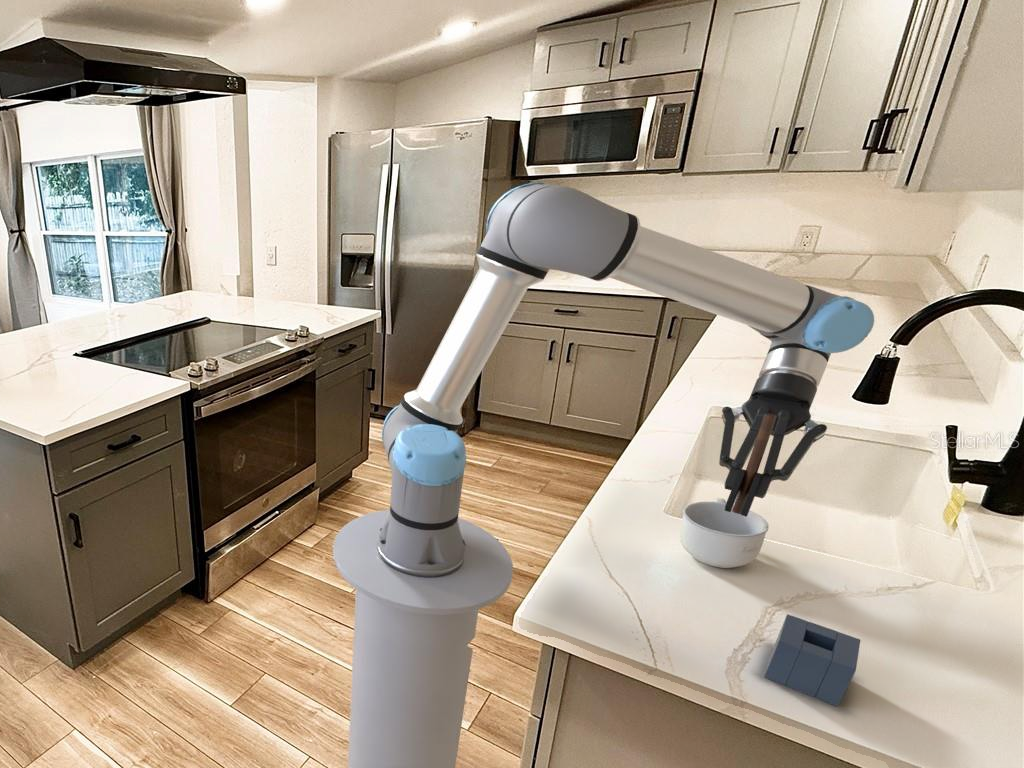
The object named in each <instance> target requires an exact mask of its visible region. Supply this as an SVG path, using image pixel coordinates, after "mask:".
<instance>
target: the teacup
mask: <svg viewBox="0 0 1024 768" xmlns="http://www.w3.org/2000/svg"><path fill="white" fill-rule="evenodd" d="M726 502H727V500H726V499H724V498H721V497H716V498H713V499H712V501H698V502H692V503H690V504H688V505H686V506H685V507H684V509H683V511H682V514H683V516H682V520H681V526H680V532H679V539H680V543H681V546H682V548H684V550H685V551H686V552H687V553H688V554H690V555H691V557H693V558H694V560H695V559H696V561H698V562H701V563H702V564H705V565H708V566H710V567H715V568H721V569H733V568H737V567H742V566H747V565H749V564H751V563H753V562H754V560H756V559H757V557H758V556H759V554H760V552H761V550H762V547H763V544H764V541H765V537H766V534H767V532H768V531H769V524H768V522H767V520H766V519H765V518H764V517H763V516H762V515H760V514H759V513H756V512H754V511H753V510H751V509H750V510H749V513H748V515H747V517H746V516H742V515H741V514H737V513H734V512H733V511H732V510H731V512H728V511H725V505H726ZM733 506H734V505H733ZM732 509H733V507H732Z"/></svg>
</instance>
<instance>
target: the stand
mask: <svg viewBox="0 0 1024 768" xmlns="http://www.w3.org/2000/svg"><path fill="white" fill-rule="evenodd" d="M860 645H861V639H860V638H857V637H855V636H851V635H849V634H846V633H844V632H840V631H837V630H834V629H832V628H829V627H826V626H823V625H820V624H818V623H814V622H812V621H808V620H806V619H803V618H800V617H796V616H795V615H791V614H788V613H787V614H786V616H785V619H784V621H783V623H782V625H781V628H780V630H779V632H778V636H777V638H776V640H775V642H774V645H773V648H772V650H771V653H770V657H769V660H768V663H767V667H766V669H765V673H764V678H766V679H768V680H771V681H773V682H775V683H778V684H780V685H782V686H786V687H788V688H790V689H793V690H796V691H798V692H800V693H802V694H805V695H807V696H810V697H812V698H815V699H818V700H819V701H822V702H825V703H827V704H829V705H831V706H835V707H837V708H838V707H839V706H840V703H841V702H842V700H843V698H844V696H845V694H846V692H847V689H848V687H849V685H850V684H851V681H852V680H853V678H854V675H855V673H856V671H857V667H858V666H857V665H858V659H859V652H860Z"/></svg>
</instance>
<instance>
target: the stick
mask: <svg viewBox="0 0 1024 768" xmlns="http://www.w3.org/2000/svg"><path fill="white" fill-rule="evenodd" d="M776 417H777V415H775V414H771V413H766V414H765V415H764V418H763V421H762V424H761V427H760V430H759V433H758V436H757V439H756V442H755V445H754V446H753V448H752V450H751V452H750V455H749V456H750V457H749V459H748V463H747V465H746V469H745V470H746V472H745V475H744V478H743V481H742V484H741V487H740V490H739V492H738V495H737V497H736V500H735V502H734V506H733V509H732V511H733V512H734V513H737V514H741V512H742V508H743V506H744V503H745V501H746V498H747V496H748V493H749V490H750V488H751V485H752V483H753V480H754V478H755V475H756V473H759V469H760V466H761V463H762V460H763V458H764V454H765V452H766V448H767V446H768V443H769V440H770V437H771V435H770V434H771V432H772V429H773V426H774V423H775V420H776Z"/></svg>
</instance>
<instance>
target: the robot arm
mask: <svg viewBox="0 0 1024 768" xmlns="http://www.w3.org/2000/svg"><path fill="white" fill-rule="evenodd" d="M485 227H486V228H485V229H486V234H485V236H484V238H483V240H482V242H481V244H480V246H479V247H478V250H477V252H476V254H475V256H476V258H477V260H476V261H477V263H478V270H477V272H476V274H475V275H474V278H473V279H472V282H471V284H470V285H469V287H468V289H467V292H466V293H465V295H464V297H463V299H462V301H461V303H460V304H459V307H458V308H457V310H456V312H455V315H454V316H453V318H452V320H451V323H450V324H449V326H448V328H447V330H446V331H445V334H444V336H443V337H442V339H441V341H440V343H439V345H438V347H437V349H436V351H435V353H434V355H433V357H432V359H431V361H430V363H429V364H428V367H427V368H426V370H425V372H424V374H423V376H422V378H421V380H420V381H419V384H418V386H417V387H416V389H414V390H411V391H407V392H405V394H404V395H403V397H402V399H401V401H400V403H399V405H396V406H395V407H394V408H392V409H391V410H390V411H389V412H388V414H387V415H386V417H385V419H384V421H383V424H382V430H381V440H382V445H383V448H384V451H385V454H386V459H387V461H388V465H389V470H390V473H391V486H390V487H391V488H390V502H389V504H390V507H389V509H390V513H389V515H388V517H387V520H386V522H385V524H384V526H383V528H381V529H380V531H381V532H380V534H379V538H378V544H377V551H378V554H379V556H380V558H381V559H382V561H383V562H384V563H386V564H387V565H388V566H390V567H391V568H393V569H395V570H397V571H399V572H401V573H404V574H407V575H411V576H416V577H424V578H435V577H442V576H446V575H449V574H452V573H454V572H456V571H457V570H458V569H460V567H461V566H462V565H463V562H464V556H465V549H464V545H465V542H464V540H463V539H462V536H461V532H460V528H459V524H458V518H459V512H460V505H461V498H462V490H463V481H464V476H465V475H464V473H465V468H466V465H467V454H466V452H467V449H466V444H465V442H464V440H463V438H462V437H461V436H460V434H458V433H457V432H458V431H459V429H460V427H461V425H462V424H463V422H464V418H463V416H462V412H461V408H462V406H463V404H464V402H465V400H466V399H467V397H468V396H469V394H470V392H471V390H472V389H473V387H474V385H475V383H476V382H477V379H478V377H479V376H480V374H481V372H482V370H483V369H484V367H485V365H486V363H487V362H488V360H489V358H490V356H491V355H492V353H493V351H494V349H495V348H496V346H497V344H498V342H499V340H500V339H501V337H502V336H503V333H504V331H505V329H506V328H507V326H508V324H509V322H510V320H511V319H512V317H513V315H514V313H515V312H516V310H517V308H518V306H519V305H520V303H521V301H522V300H523V297H524V296H525V294H526V292H527V290H528V289H529V288H530V287H531V286H534V285H536V284H539V283H541V282H544V280H545V278H546V277H547V274H548V273H549V271H550V270H553V271H557V272H558V271H559V272H564V273H569V274H572V275H577V276H580V277H584V278H587V279H590V280H593V281H596V282H602V281H605V280H607V279H613V280H616V281H618V282H622V283H624V284H628V285H630V286H633V287H635V288H639V289H641V290H645V291H647V292H651V293H653V294H657V295H659V296H662V297H665V298H666V299H667V298H668V299H671V300H673V301H676V302H679V303H681V304H684V305H685V304H686V305H688V306H691V307H694V308H697V309H699V310H702V311H705V312H708V313H711V314H714V315H716V316H719V317H722V318H725V319H728V320H732V321H734V322H737V323H739V324H743V325H745V326H747V327H749V328H751V329H752V330H754V331H755V332H757V333H759V334H760V336H762V337H765V338H766V339H768V340H769V341H770V342H771V343H770V346H769V349H768V351H767V354H766V355H765V359H764V361H763V363H762V365H761V368H760V371H759V374H758V378H757V379H756V380H755V383H754V385H753V388H752V391H751V394H750V395H749V398H748V399H747V400H746V401H745V402H744V403H743V404H742V405H741V406H737V407H733V408H731V407H730V406H724V407H723V408H722V410H721V419H722V422H723V424H724V427H723V434H722V440H721V447H720V452H719V460H718V465H719V466H720V467H723V468H726V469H727V470H728V474H727V476H726V479H725V481H724V489H725V490H728V491H730V492H729V495H728V498H727V500H726V505H725V511H728V512H731V510H732V507H733V505H734V503H735V501H736V498H737V495H738V492H739V490H740V487H741V484H742V481H743V478H744V475H745V472H746V469H744V466H745V464H746V462H747V460H748V458H749V456H750V455H751V453H752V450H753V447H754V445H755V442H756V439H757V436H758V433H759V430H760V427H761V424H762V421H763V418H764V415H765V414H766V413H771V414H775V415H777V417H776V420H775V423H774V426H773V429H772V432H771V434H770V436H772V441H771V444H770V447H769V451H768V455H767V458H766V462H765V465H764V468H763V472H762V473H760V472H757V473H756V475H755V478H754V480H753V483H752V485H751V488H750V490H749V493H748V496H747V498H746V501H745V503H744V506H743V508H742V512H741V515H742V516H746V517H747V515H748V513H749V510H750V511H751V507H752V505H753V503H754V500H755V498H759V499H764V498H765V497H766V496H767V493H768V490H769V488H770V485H771V483H772V482H773V481H780V482H786V481H788V480H789V478H790V477H791V476H792V475H793V473H794V472H795V470H796V469H797V467H798V466H799V465H800V463H801V461H802V460H803V458H804V457H805V455H806V454H807V453H808V451H809V450H810V448H811V447H812V445H814V443H816V442H817V441H819V440H820V439H822V438H823V437H825V435H826V432H827V429H828V426H827V425H826V424H825V423H817V422H816V421H814V420H812V415H811V412H810V410H811V407H812V404H813V402H814V400H815V398H816V394H817V392H818V387H819V386H820V384H821V381H822V379H823V376H824V373H825V371H826V369H827V366H828V362H829V360H830V357H831V355H832V354H838V353H843V352H847V351H849V350H851V349H854V348H855V347H858V346H859V345H860V344H862V343H863V342H864V341H865V339H866V338H867V337H868V336H869V334H870V333H871V332H872V330H873V327H874V325H875V315H874V312H873V310H872V308H871V307H870V306H869V305H868V304H866V303H864V302H863V301H860V300H856V299H854V298H853V297H850V296H846V295H843V296H842V295H839V294H835V293H832V292H829V291H826V290H823V289H820V288H817V287H815V286H812V285H808V284H806V283H804V282H800V281H797V280H795V279H792V278H789V277H787V276H784V275H781V274H779V273H775V272H772V271H769V270H766V269H763V268H761V267H758V266H755V265H753V264H751V263H750V264H749V263H746V262H744V261H741V260H738V259H735V258H733V257H729V256H728V255H727V256H726V255H724V254H722V253H718V252H715V251H713V250H710V249H707V248H704V247H701V246H698V245H695V244H693V243H690V242H687V241H684V240H681V239H679V238H675V237H673V236H670V235H668V234H664V233H662V232H658V231H656V230H653V229H651V228H648V227H644V226H641V222H640V218H639V216H637V215H636V214H635V215H634V214H633V213H629V212H627V211H625V210H621V209H619V208H616V207H614V206H612V205H610V204H608V203H605V202H604V201H601V200H599V199H598V198H595V197H594V196H591V194H588V193H586V192H584V191H581V190H579V189H577V188H575V187H571V186H567V185H556V184H551V183H550V184H549V183H544V182H530V183H525V184H522V185H519V186H516V187H514V188H511V189H510V190H508V191H506V192H505V193H503V195H501V197H499V198H498V199H497V201H495V203H494V204H493V205H492V207H491V209H490V211H489V213H488V216H487V219H486V226H485ZM742 415H743V417H744V419H745V422H746V423H747V426H748V427H749V430H748V432H747V434H746V436H745V438H744V440H743V441H742V444H741V446H740V447H739V449H738V451H737V453H736V455H735V457H734V458H732V457H731V451H732V450H731V449H732V444H733V438H734V437H733V436H734V431H735V423H736V422H738V421H739V420H740V417H741V416H742ZM803 427H804V429H803V432H802V433H803V437H802V438H801V439H800V440H799V442H798V444H797V445H796V446H795V448H794V449H793V451H792V452H791V454H790V455H789V457H788V458H787V460H786V461H785V462H784V463H783V466H782V467H781V468H776V467H777V463H778V459H779V456H780V452H781V449H782V446H783V442H784V438H785V436H788V435H790V434H791V433H793V432H796V431H797V430H799V429H801V428H803ZM465 546H466V545H465Z"/></svg>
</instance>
